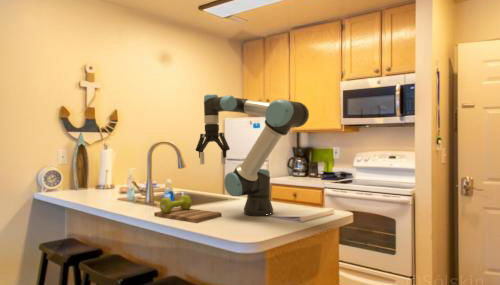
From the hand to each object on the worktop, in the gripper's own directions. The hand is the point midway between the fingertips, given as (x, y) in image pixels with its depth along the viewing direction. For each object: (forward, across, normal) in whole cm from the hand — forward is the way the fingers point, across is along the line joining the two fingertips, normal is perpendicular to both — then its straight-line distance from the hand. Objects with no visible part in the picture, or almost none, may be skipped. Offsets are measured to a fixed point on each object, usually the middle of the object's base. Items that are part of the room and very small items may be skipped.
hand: (212, 164), depth 194 cm
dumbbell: (+23, +13, +15) cm, 30 cm away
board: (+25, +5, +15) cm, 30 cm away
